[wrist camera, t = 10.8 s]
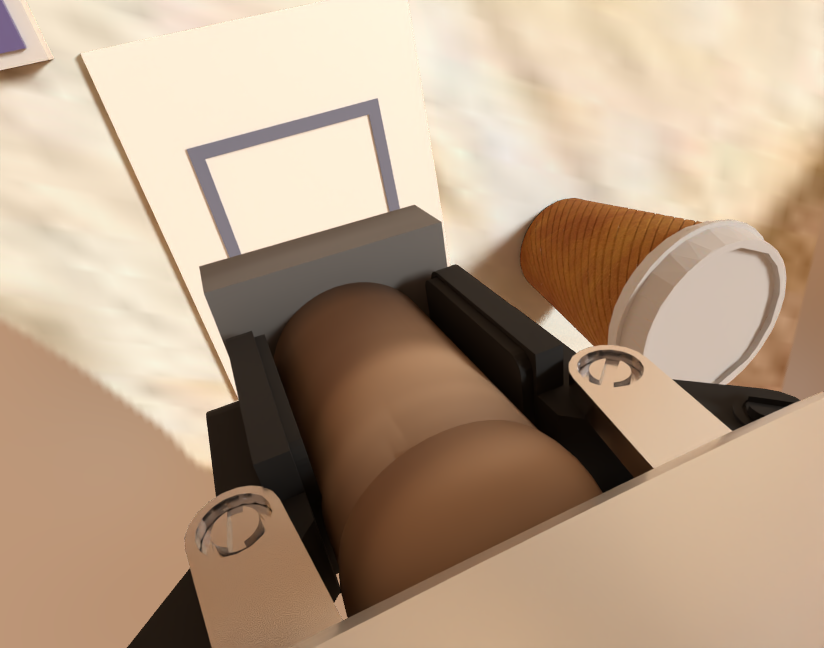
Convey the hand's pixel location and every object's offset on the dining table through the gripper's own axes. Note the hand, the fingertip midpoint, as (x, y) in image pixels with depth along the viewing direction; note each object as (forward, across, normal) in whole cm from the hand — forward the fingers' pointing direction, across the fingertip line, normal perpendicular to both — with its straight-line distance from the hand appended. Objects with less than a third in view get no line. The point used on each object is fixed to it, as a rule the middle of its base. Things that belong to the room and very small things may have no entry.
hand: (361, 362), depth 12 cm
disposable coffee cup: (+18, -18, +9) cm, 27 cm away
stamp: (+2, 0, 0) cm, 2 cm away
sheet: (+18, -2, +2) cm, 18 cm away
